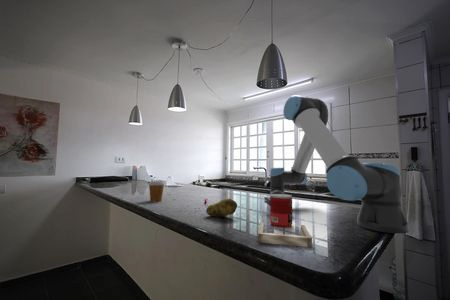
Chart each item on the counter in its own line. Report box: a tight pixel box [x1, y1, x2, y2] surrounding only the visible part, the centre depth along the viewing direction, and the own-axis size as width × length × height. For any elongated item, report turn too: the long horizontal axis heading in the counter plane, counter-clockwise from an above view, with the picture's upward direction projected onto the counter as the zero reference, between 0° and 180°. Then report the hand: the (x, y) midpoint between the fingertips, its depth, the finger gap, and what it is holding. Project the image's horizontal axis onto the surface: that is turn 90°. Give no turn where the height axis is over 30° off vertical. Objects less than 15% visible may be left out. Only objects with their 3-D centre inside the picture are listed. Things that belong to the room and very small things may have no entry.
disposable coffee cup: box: [148, 180, 165, 202], centre depth 126 cm, size 10×10×12 cm
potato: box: [205, 198, 238, 218], centre depth 88 cm, size 8×13×8 cm, turn 53°
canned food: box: [269, 193, 293, 229], centre depth 78 cm, size 8×8×11 cm
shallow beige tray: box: [257, 221, 313, 248], centre depth 64 cm, size 14×13×2 cm
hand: (278, 206), depth 82 cm, fingers closed
